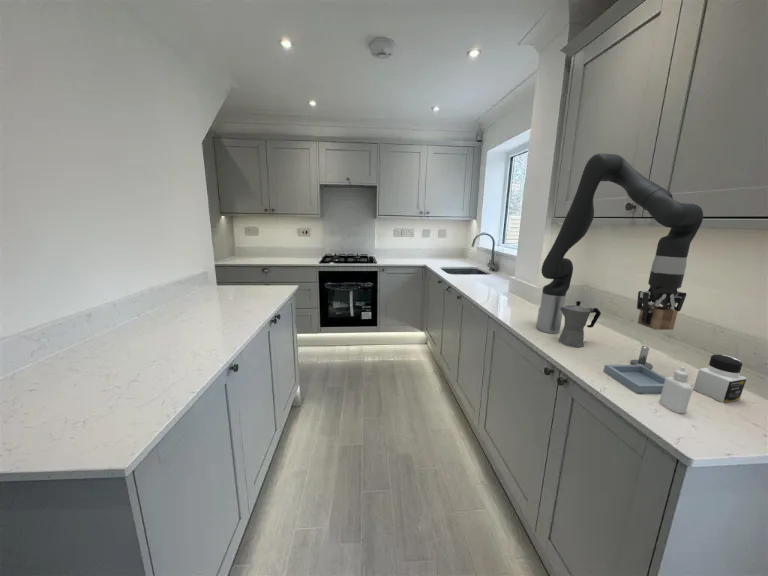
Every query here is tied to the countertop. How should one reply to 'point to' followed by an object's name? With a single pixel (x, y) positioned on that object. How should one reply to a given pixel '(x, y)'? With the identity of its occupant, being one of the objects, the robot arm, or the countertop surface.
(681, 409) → the eye dropper bottle
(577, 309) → the coffeepot
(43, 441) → the countertop surface
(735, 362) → the medicine bottle
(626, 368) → the tray
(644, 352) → the grey metal coffee tamper
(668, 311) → the block
